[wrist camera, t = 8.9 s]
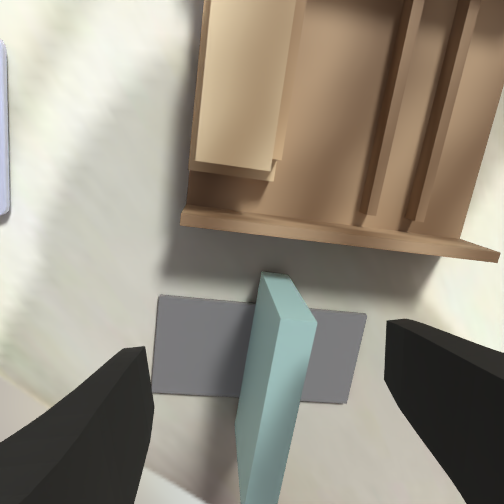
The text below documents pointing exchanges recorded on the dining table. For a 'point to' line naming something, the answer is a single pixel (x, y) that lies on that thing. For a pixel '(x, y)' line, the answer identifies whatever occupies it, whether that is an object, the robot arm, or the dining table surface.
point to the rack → (345, 120)
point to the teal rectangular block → (272, 387)
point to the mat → (244, 349)
